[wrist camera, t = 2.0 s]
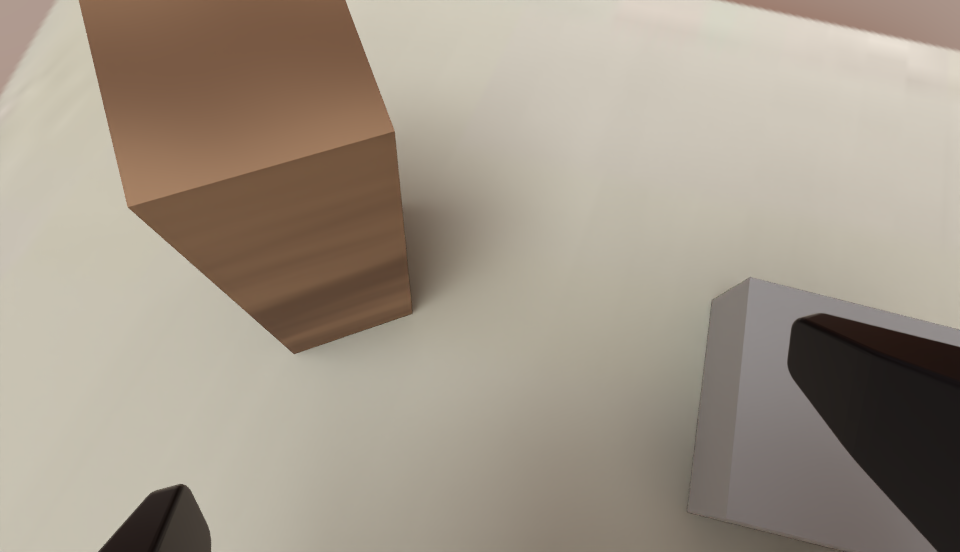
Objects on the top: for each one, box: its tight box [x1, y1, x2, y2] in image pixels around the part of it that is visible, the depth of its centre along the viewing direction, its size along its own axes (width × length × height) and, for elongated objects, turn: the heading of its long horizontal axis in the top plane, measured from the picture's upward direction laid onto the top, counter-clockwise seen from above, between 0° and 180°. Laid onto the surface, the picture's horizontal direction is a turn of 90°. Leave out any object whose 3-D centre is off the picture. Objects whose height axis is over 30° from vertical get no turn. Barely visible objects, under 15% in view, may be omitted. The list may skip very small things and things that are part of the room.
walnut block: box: [79, 0, 412, 354], centre depth 17 cm, size 4×4×13 cm
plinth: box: [687, 277, 960, 552], centre depth 22 cm, size 8×8×3 cm
